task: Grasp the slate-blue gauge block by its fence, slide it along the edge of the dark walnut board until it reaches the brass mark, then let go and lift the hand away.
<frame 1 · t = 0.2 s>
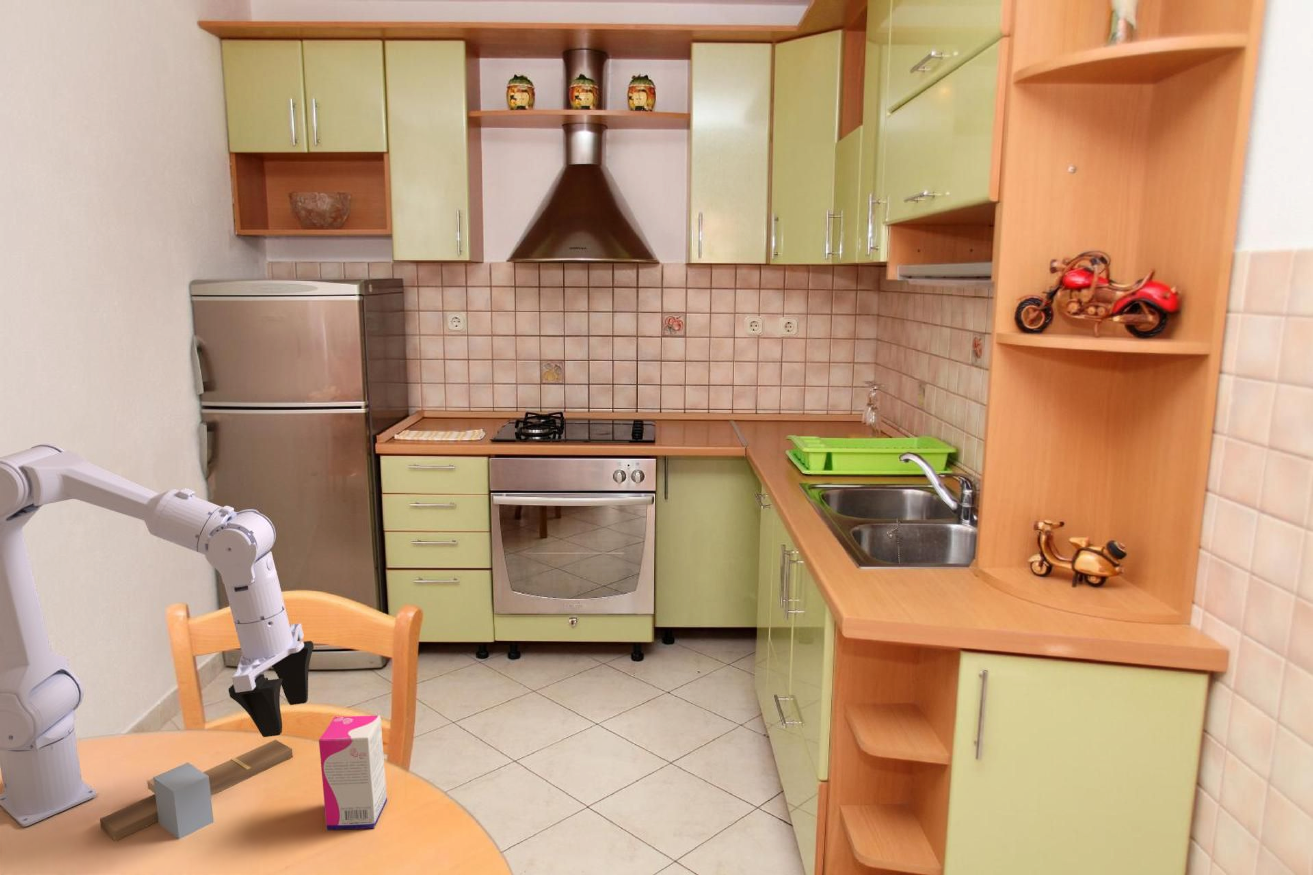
hand: (286, 718, 108), 11 cm above the table, tool pointing down, fingers open, 7 cm apart
supplement box: (357, 815, 107), on the table
gauge: (186, 822, 106), on the table
board: (203, 789, 112), on the table
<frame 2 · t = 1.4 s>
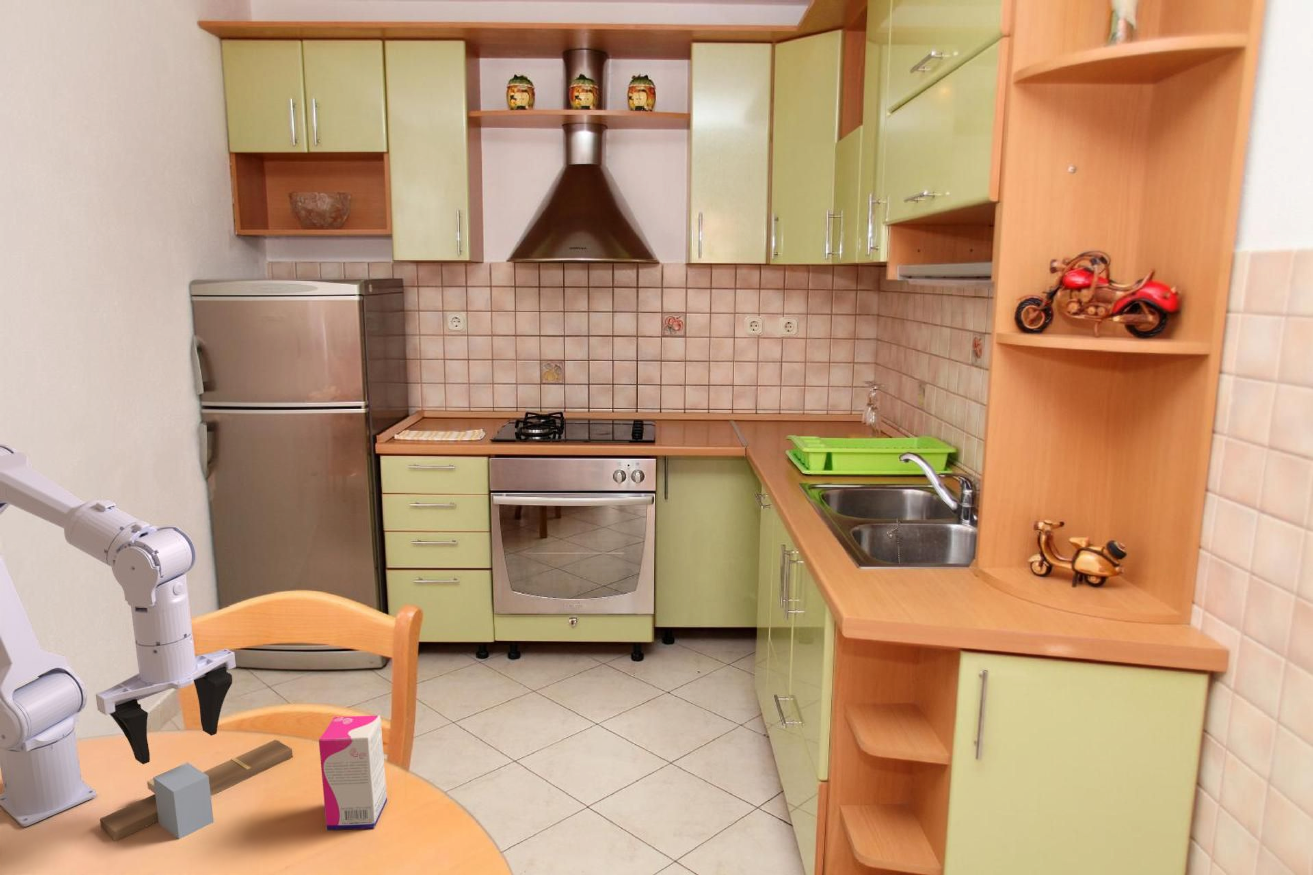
hand: (177, 745, 104), 10 cm above the table, tool pointing down, fingers open, 7 cm apart
nothing on the table moved.
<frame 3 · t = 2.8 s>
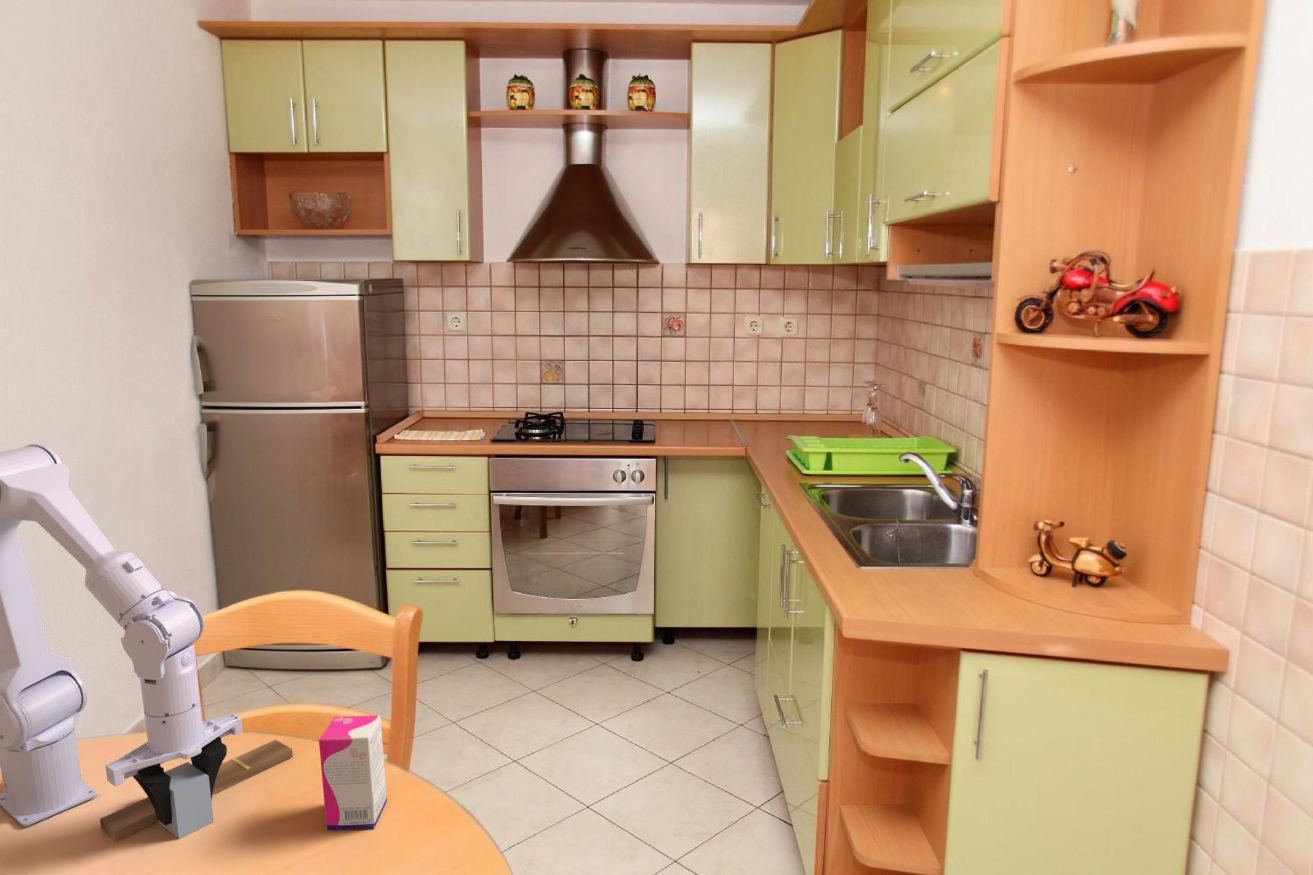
hand: (185, 811, 105), 1 cm above the table, tool pointing down, fingers closed on gauge, 4 cm apart
gauge: (186, 822, 106), on the table, touching gripper
everything else where it was.
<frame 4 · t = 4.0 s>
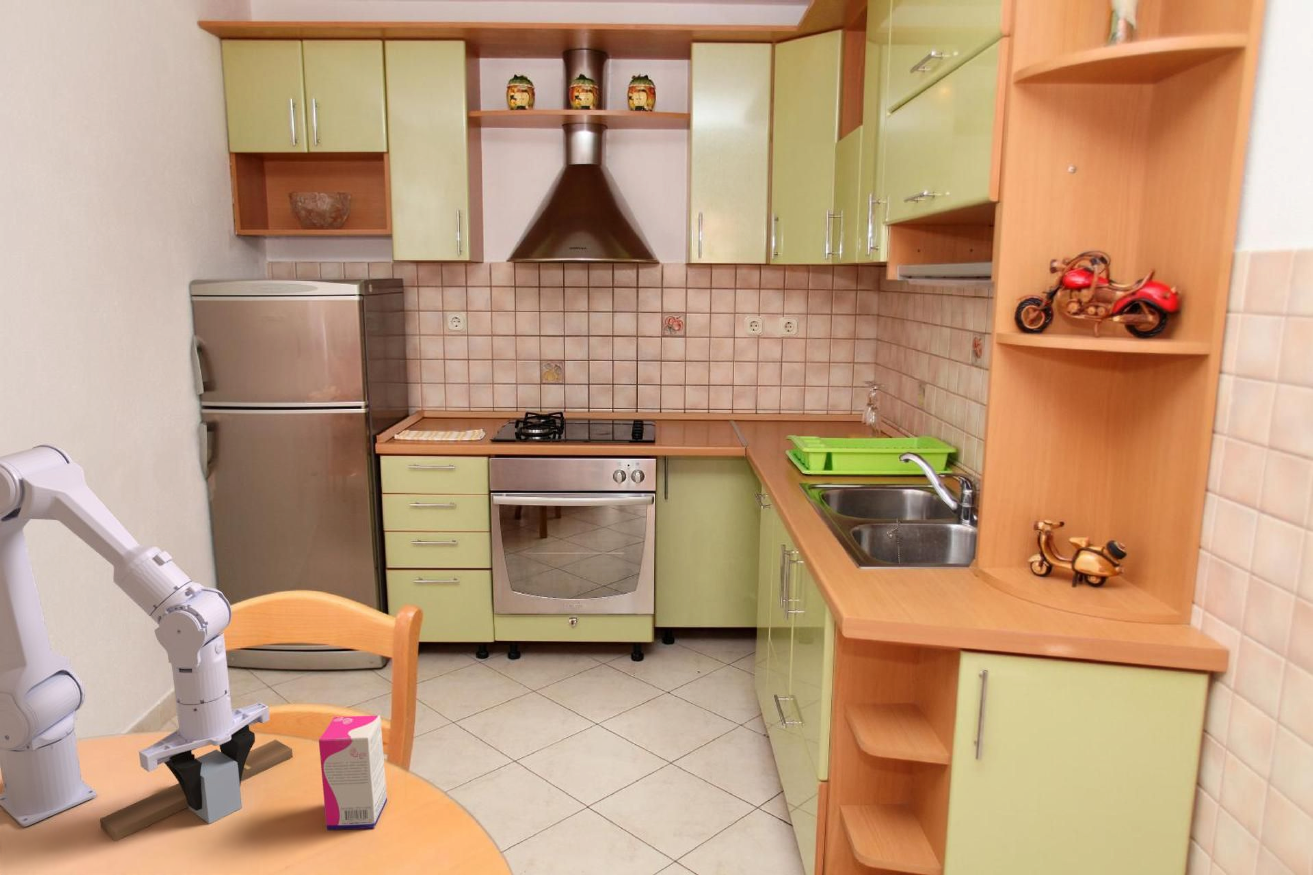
hand: (214, 797, 108), 1 cm above the table, tool pointing down, fingers closed on gauge, 4 cm apart
gauge: (215, 808, 108), on the table, touching gripper
everything else where it was.
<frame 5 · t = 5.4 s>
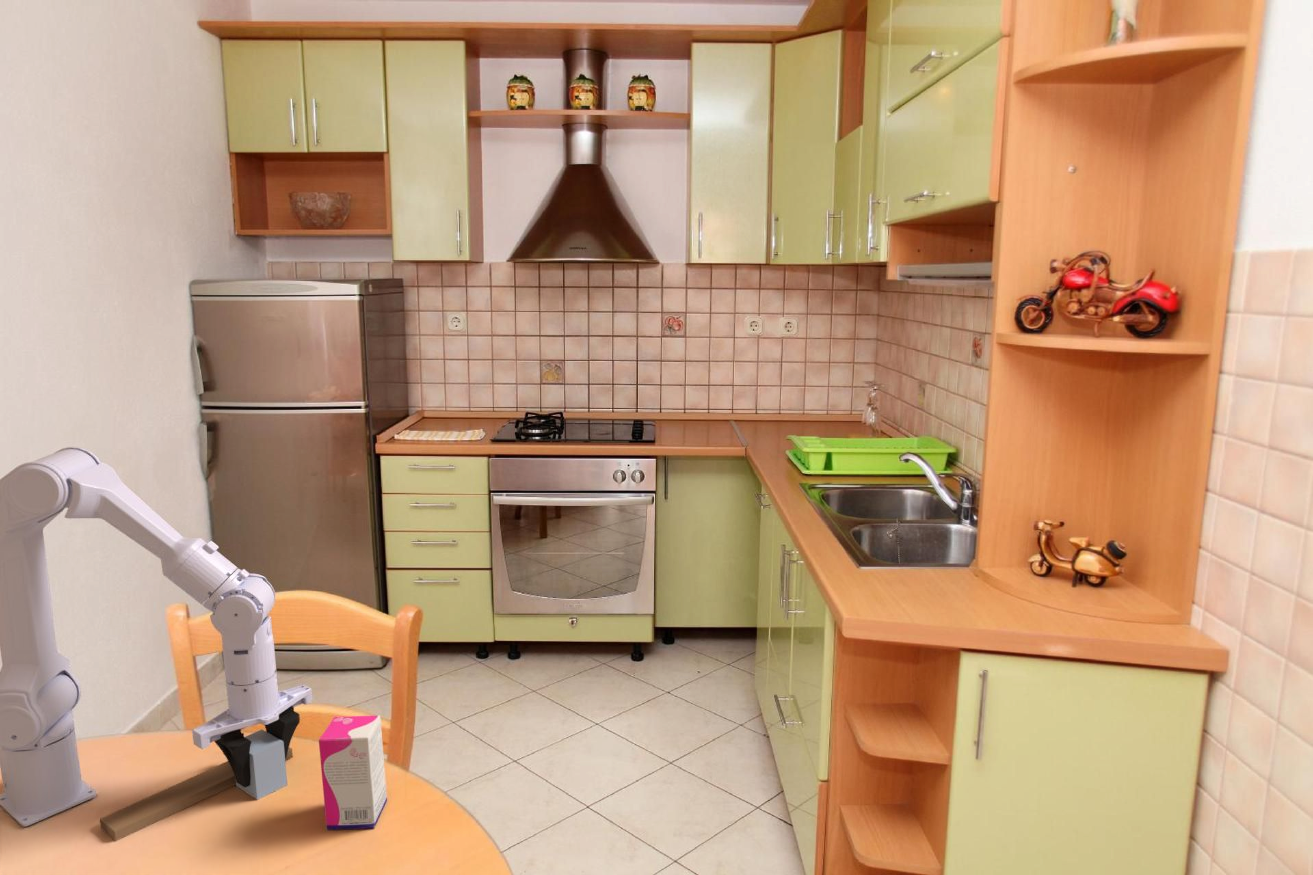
hand: (261, 775, 113), 1 cm above the table, tool pointing down, fingers closed on gauge, 4 cm apart
gauge: (261, 785, 113), on the table, touching gripper
everything else where it was.
when the fingers open (2 cm above the table, at t = 6.2 s): gauge stays where it is, on the table.
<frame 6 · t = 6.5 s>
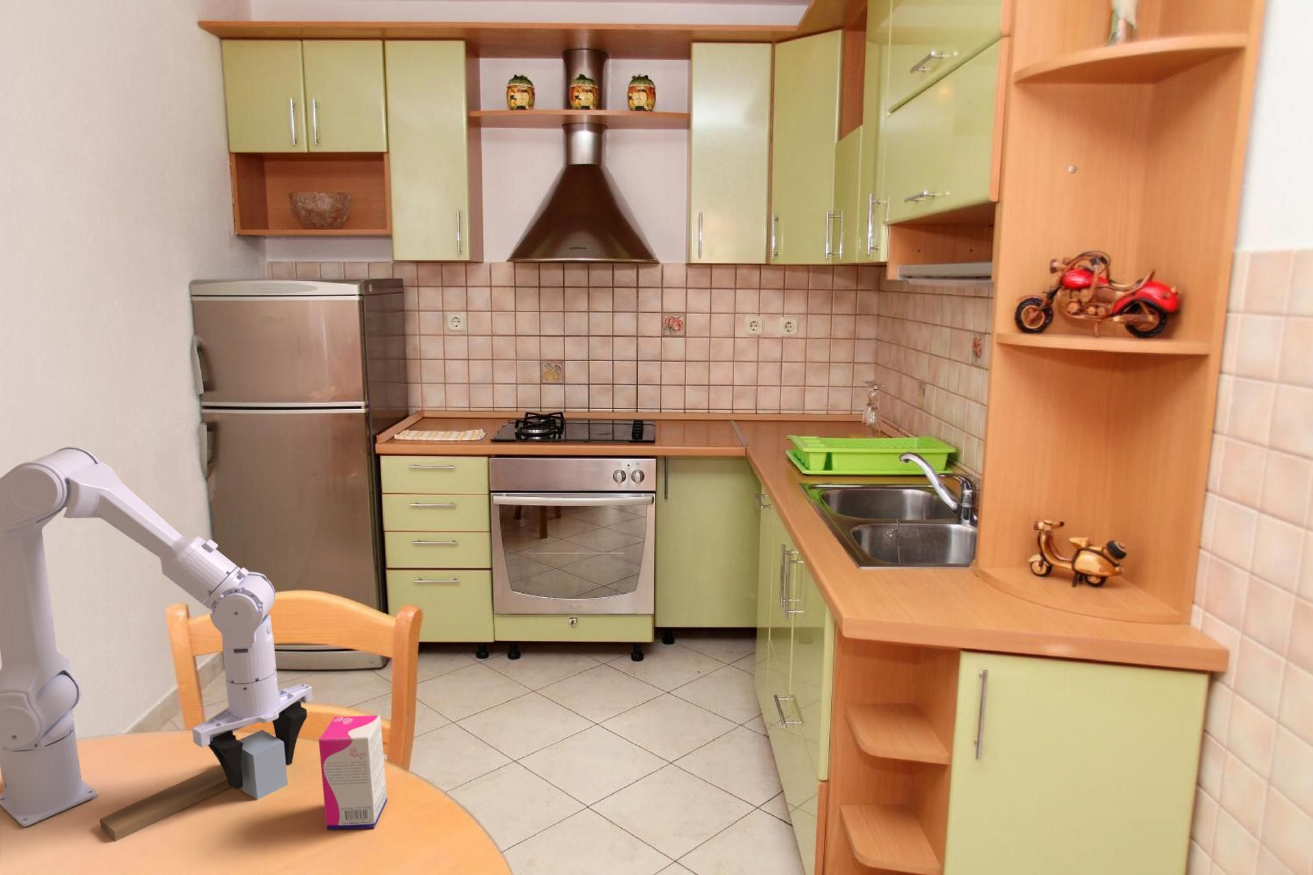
hand: (261, 773, 113), 2 cm above the table, tool pointing down, fingers open, 6 cm apart
gauge: (262, 785, 113), on the table
everything else where it was.
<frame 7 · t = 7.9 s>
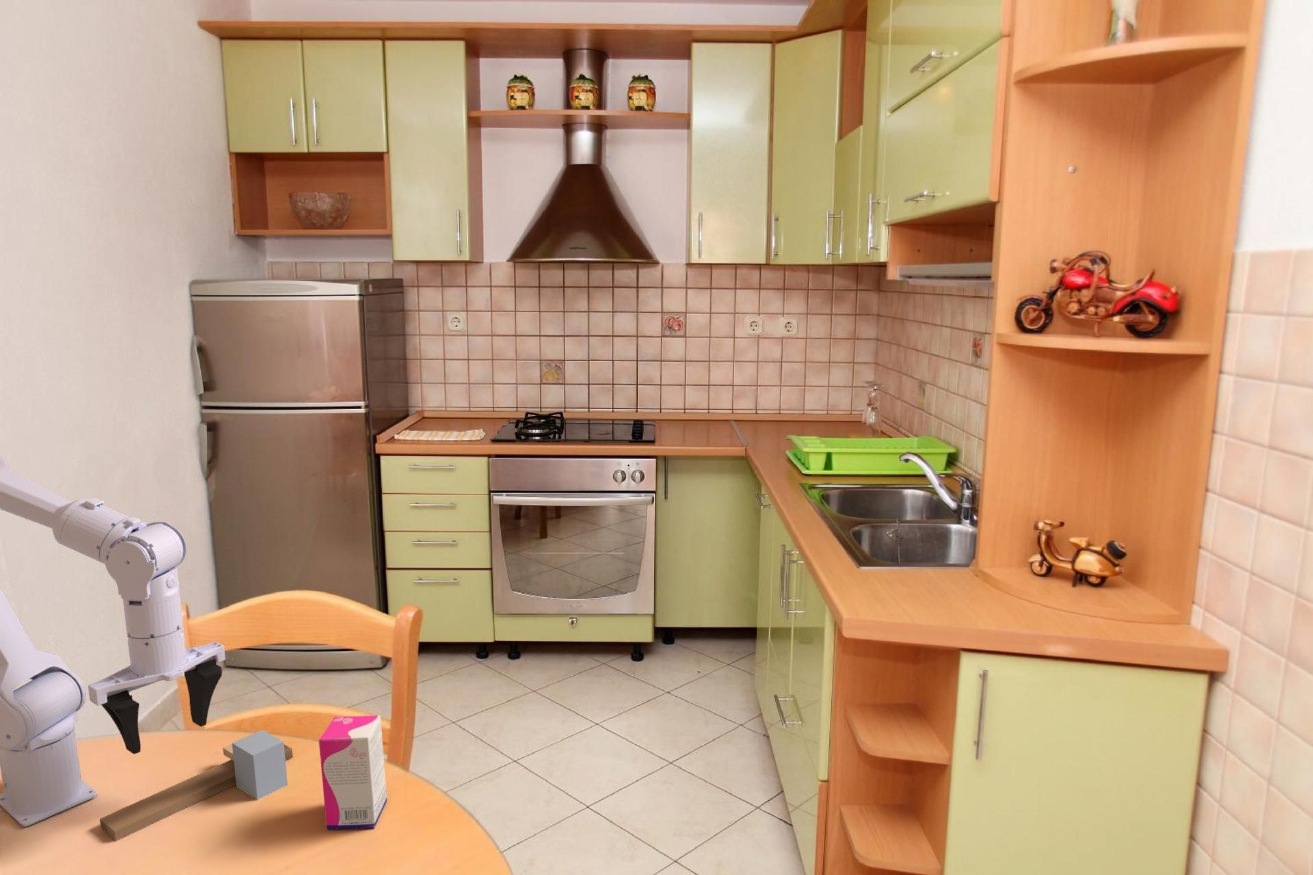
hand: (167, 736, 106), 10 cm above the table, tool pointing down, fingers open, 7 cm apart
nothing on the table moved.
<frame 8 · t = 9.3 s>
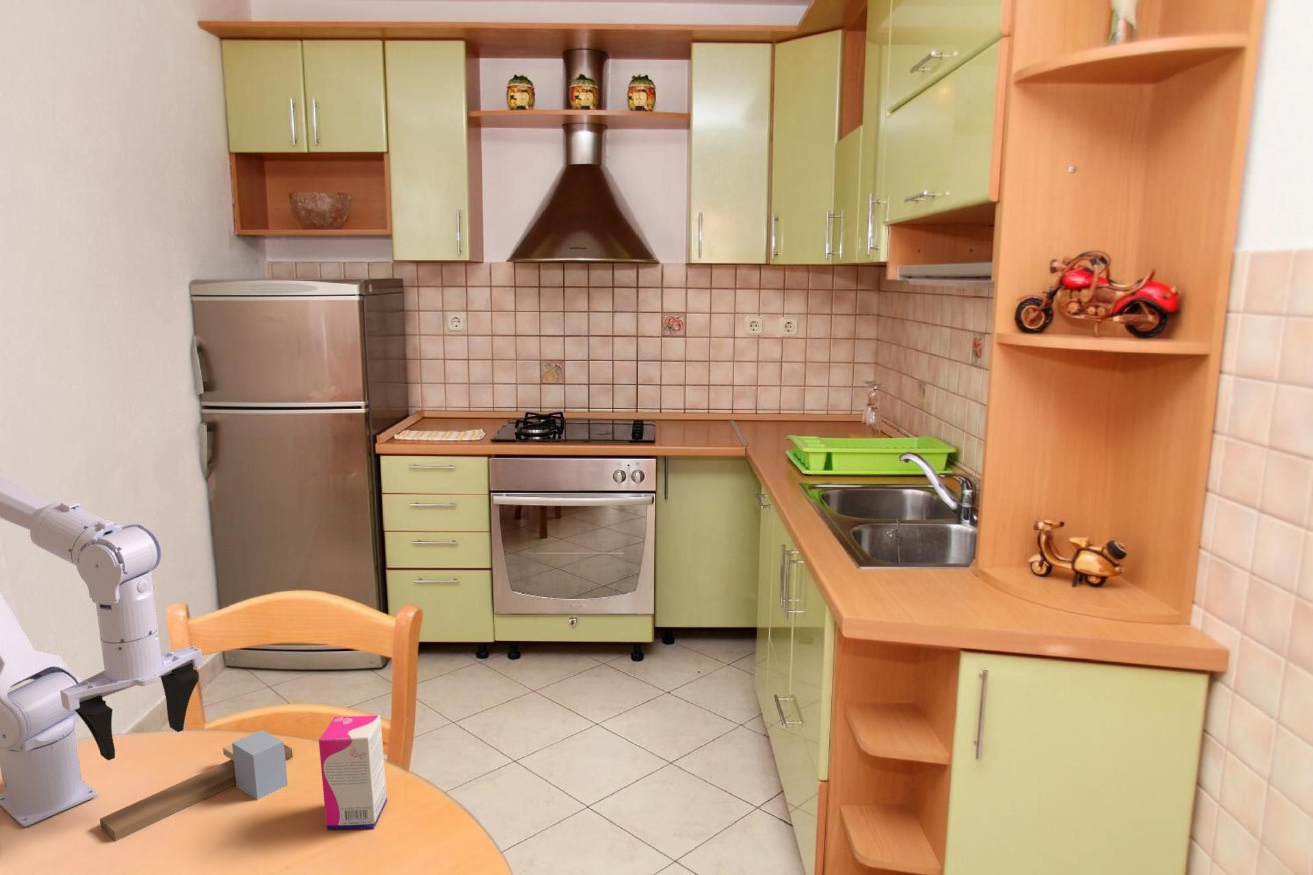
hand: (143, 742, 104), 10 cm above the table, tool pointing down, fingers open, 7 cm apart
nothing on the table moved.
at the end: gauge 0.4 cm from the target spot, on the table; gauge tilted 0°; the gripper is holding nothing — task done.
